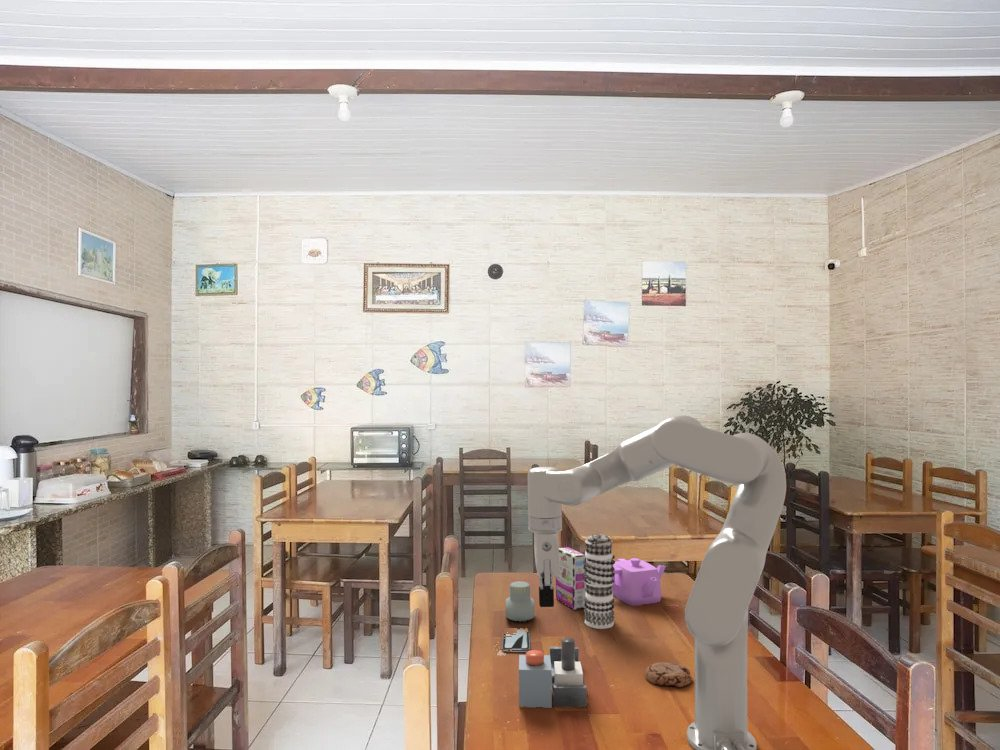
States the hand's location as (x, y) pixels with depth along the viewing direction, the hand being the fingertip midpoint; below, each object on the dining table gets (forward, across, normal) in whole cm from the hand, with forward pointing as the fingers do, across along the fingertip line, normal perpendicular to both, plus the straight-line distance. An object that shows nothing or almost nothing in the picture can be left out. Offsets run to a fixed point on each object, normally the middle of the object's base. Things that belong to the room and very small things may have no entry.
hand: (546, 605), depth 133 cm
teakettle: (+20, +61, -33) cm, 72 cm away
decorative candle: (+20, +40, -17) cm, 48 cm away
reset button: (+15, -2, +3) cm, 16 cm away
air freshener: (+20, +44, +6) cm, 48 cm away
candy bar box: (+20, +55, -11) cm, 60 cm away
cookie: (+21, +8, -29) cm, 36 cm away
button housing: (+20, -2, +3) cm, 20 cm away
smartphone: (+20, +28, +7) cm, 36 cm away
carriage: (+19, +1, -5) cm, 19 cm away
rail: (+20, +5, -5) cm, 21 cm away
